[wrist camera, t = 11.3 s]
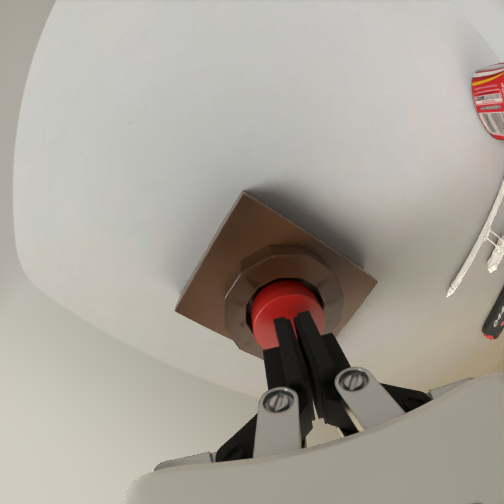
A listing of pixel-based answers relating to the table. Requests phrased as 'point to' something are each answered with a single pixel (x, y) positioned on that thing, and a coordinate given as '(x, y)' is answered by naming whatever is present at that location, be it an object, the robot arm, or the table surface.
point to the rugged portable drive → (495, 320)
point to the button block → (267, 273)
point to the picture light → (499, 250)
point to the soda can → (490, 98)
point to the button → (282, 309)
